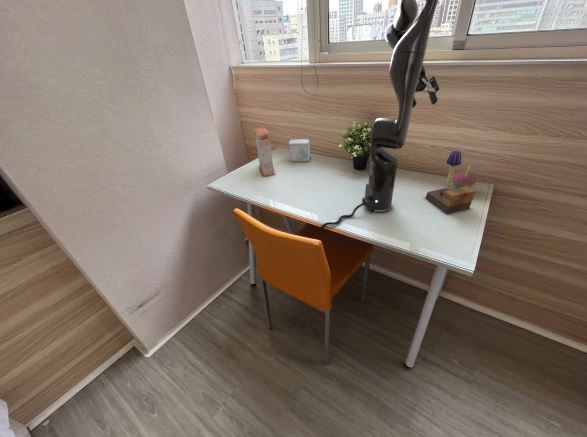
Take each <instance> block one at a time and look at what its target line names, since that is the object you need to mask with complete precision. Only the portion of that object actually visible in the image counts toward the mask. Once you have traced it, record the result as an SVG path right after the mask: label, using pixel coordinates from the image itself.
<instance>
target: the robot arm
mask: <svg viewBox="0 0 587 437" xmlns="http://www.w3.org/2000/svg"><path fill="white" fill-rule="evenodd" d="M438 3H439V0H425V4H424V6H423V9H422V10H421V12H420V13H419V15H418V12H419V6H418V2H417V0H398V1H397V9H396V13H395V15H394V17H393V18H394V19H393V23H390V24H388V25H387V26H386V27H385V31H384V38H385V41H386V43H387V44H388V45H389V47H390V48H391V49H392V50H393V51H392V56H391V60H390V65H389V71H388V74H389V81H390V83H391V87H392V89H393V91H394V94H395V96H396V100H397V104H398V106H397V107H398V114H397V118H389V117H388V118H387V117H377V118H376V119H375V120H374V121H373V123H372V126H371V130H370V143H369V144H370V149H369V171H368V182H367V183H365V191H364V192H365V193H364V197H362V198H361V203H360V204H358V205H357V206H356V207H354V209H353V211H352V213H351V214H344V215H340V216H339V218H338V220H337V221H330V222H325V223H323V224H322V225H321V226H320V229H324V227H326V226H329V225H330V226H334V225H338V224H340V222H341V221H342V219H343V218H351V217H353V216H355V213H356V211H357V210H358V209H360V208H361V207H363V206H364V207H365V208H366V209H367V210H368V211H369V212H370V213H380V214H381V213H387V212H389V211H390V210H391V209H392V203H393V196H394V188H395V182H396V175H397V170H398V163H399V160H398V157H397V156H396V155H394V154H393V153H391V152H389V150H387V149H390V150H391V149H392V150H400V149H402V147H403V146H404V145H405V144H406V143H405V142H406V139H407V136H408V132H409V126H410V120H411V114H412V110H413V108H414V107H416V106H417V105H418V104H417V101H416V97H415V95H416V93H418V92H419V93H421V92H422V93H424V94H426V95H428V97H429V101H430V102H431V105H435V104H437V102H438V96H437V94H436V93H437V92H438V91H439V90H440V86H439V84H438V82H437V80H436V77H435V76H434V75H433V76H431V77H429V78H428V77H427V76H426V69H425V66H424V62H425V55H426V51H427V47H428V42H429V37H430V33H431V28H432V25H433V20H434V17H435V13H436V11H437V7H438ZM417 16H418V17H417Z"/></svg>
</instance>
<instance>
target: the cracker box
mask: <svg viewBox="0 0 587 437" xmlns="http://www.w3.org/2000/svg"><path fill="white" fill-rule="evenodd" d="M253 130H254V135H255V141H256V150H257V158H258V163H259V168H260V170H261V173H262V176H263V177H266V176H267V177H268V176H273V175H275V170H274V163H273V162H274V161H273V155H272V154H273V152H272V144H271V143H272V142H271V136H270V132H269V131H268V129H267V127H266V126H258V127H254V129H253Z"/></svg>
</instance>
